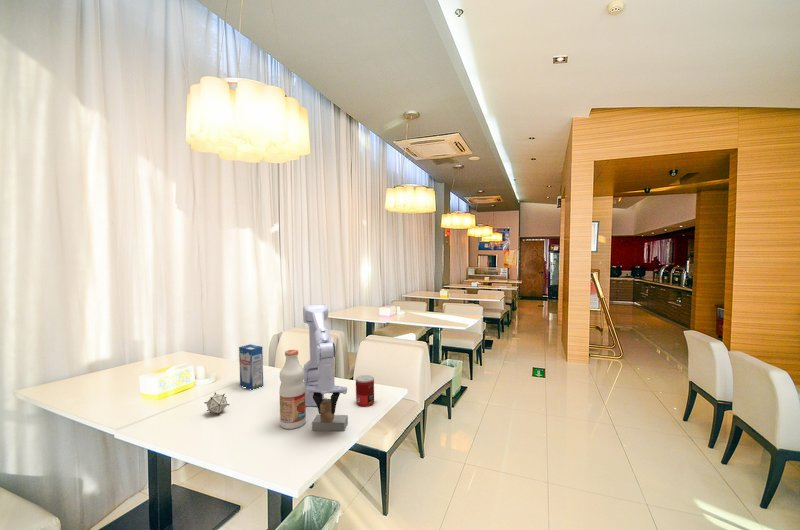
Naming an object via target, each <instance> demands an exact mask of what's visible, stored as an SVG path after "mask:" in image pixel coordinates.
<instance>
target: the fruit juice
mask: <svg viewBox="0 0 800 530" xmlns="http://www.w3.org/2000/svg"><path fill="white" fill-rule="evenodd" d="M298 356H299V350H298V349H287V350H285V351H284V357H285V362H284V365H283V367H282V368H281V370H280V372H279V380H280V385H279V419H280V420H279V424H280V426H281V428H283V429H285V430H292V429H297V428H300V427H302V426H303V425H305V423H306V419H307V417H306V416H307V415H306V414H307V413H306V412H307V411H306V408H307V406H306V404H305V384H304V367H303V366H302V365H301V364H300V362H299V357H298Z"/></svg>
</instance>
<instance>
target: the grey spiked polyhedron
mask: <svg viewBox="0 0 800 530" xmlns="http://www.w3.org/2000/svg"><path fill="white" fill-rule="evenodd" d="M225 395H226V394H225V393H223V394H219V393H216V392H214V394H213V395H212V396H211V397H210V399H208V400H207V402H206V401H205V402H204V404H205V405H206V406H207V410H206V412H208V411H209V413H211V414H212V413H213V414H217V415H218V416H221V414H220V413H222V411H224V409H225V408H227V407H228V406H230V405H231V404H230V403H228V401H227V396H225Z"/></svg>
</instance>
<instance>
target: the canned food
mask: <svg viewBox="0 0 800 530" xmlns="http://www.w3.org/2000/svg"><path fill="white" fill-rule="evenodd" d="M355 403H356V404H357V406H360V407H365V408H366V407H370V406H372V405H373V404H374V403H375V377H374V376H372V375H369V374H368V375H367V374H365V375H364V374H363V375H359V376H356V377H355Z"/></svg>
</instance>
